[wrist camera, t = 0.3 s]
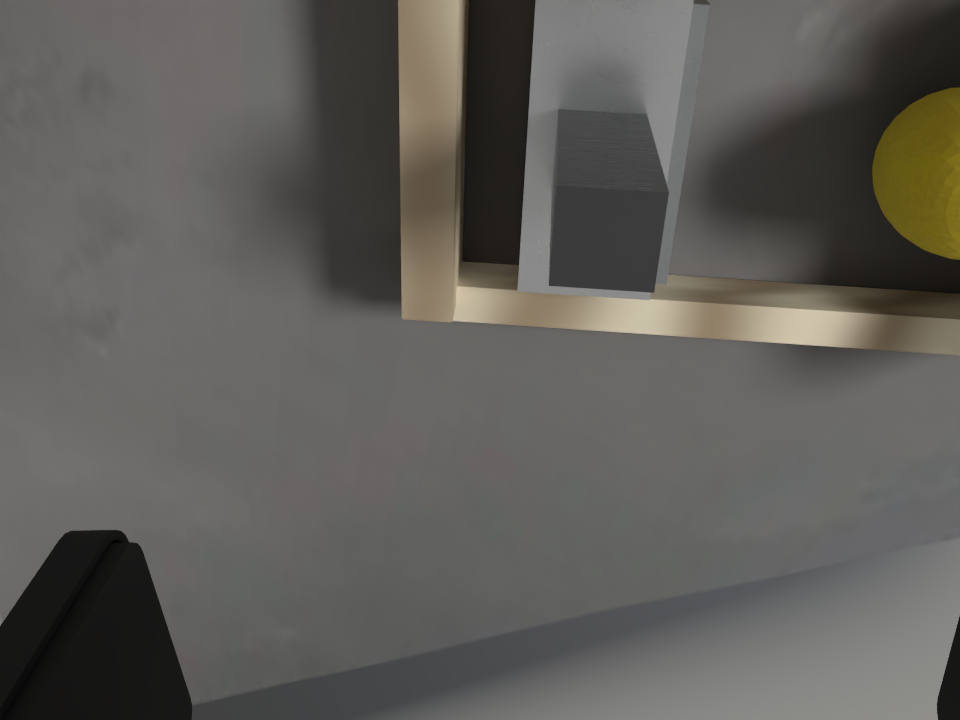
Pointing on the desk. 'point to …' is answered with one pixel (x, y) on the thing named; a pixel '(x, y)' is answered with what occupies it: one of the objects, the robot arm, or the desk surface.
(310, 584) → the desk surface
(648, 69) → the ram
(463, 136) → the press frame
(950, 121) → the lemon
